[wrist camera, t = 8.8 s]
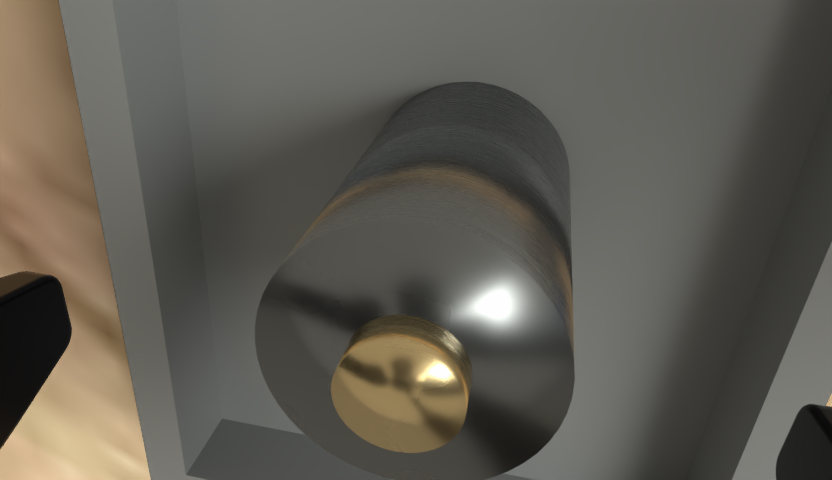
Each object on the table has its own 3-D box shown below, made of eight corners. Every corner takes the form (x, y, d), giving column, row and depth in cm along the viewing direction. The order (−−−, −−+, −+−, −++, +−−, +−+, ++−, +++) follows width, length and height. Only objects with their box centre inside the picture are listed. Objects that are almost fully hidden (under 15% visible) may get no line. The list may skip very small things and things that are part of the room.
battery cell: (587, 94, 12) (609, 282, 6) (552, 278, 14) (545, 549, 8) (375, 71, 13) (220, 223, 7) (370, 250, 15) (245, 486, 9)
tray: (1061, -398, 9) (1267, -516, 6) (699, 509, 18) (723, 617, 15) (106, -406, 11) (-38, -498, 8) (208, 413, 19) (153, 494, 17)
